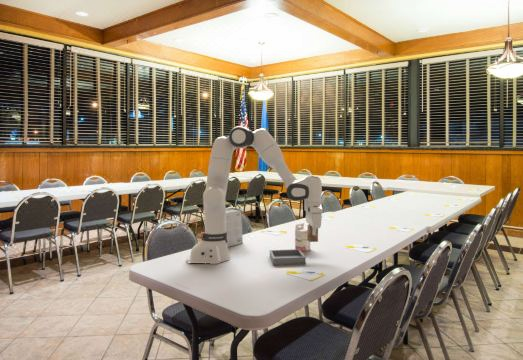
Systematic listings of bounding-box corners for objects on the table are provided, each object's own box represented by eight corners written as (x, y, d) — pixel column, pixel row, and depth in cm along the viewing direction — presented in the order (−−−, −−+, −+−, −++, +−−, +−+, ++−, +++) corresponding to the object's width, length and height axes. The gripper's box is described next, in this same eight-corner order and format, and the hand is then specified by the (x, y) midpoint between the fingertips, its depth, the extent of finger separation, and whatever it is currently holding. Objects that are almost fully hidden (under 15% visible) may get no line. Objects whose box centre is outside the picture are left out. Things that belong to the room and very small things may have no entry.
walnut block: (309, 241, 204) (309, 226, 204) (307, 239, 209) (307, 224, 208) (317, 241, 205) (318, 226, 204) (315, 239, 209) (316, 224, 209)
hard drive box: (234, 241, 250) (234, 209, 248) (243, 243, 244) (242, 210, 243) (215, 246, 239) (214, 212, 237) (223, 248, 233) (222, 214, 232)
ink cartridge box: (302, 252, 221) (302, 226, 219) (295, 251, 224) (294, 225, 223) (310, 249, 227) (310, 223, 226) (303, 248, 230) (303, 222, 229)
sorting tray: (273, 265, 197) (273, 258, 197) (269, 256, 213) (269, 250, 212) (305, 264, 198) (305, 257, 198) (299, 255, 214) (299, 249, 214)
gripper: (302, 204, 216) (302, 229, 217) (311, 210, 195) (310, 238, 196) (314, 204, 216) (314, 229, 217) (323, 209, 196) (323, 237, 197)
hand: (312, 233), depth 207 cm, fingers closed on walnut block, 4 cm apart
